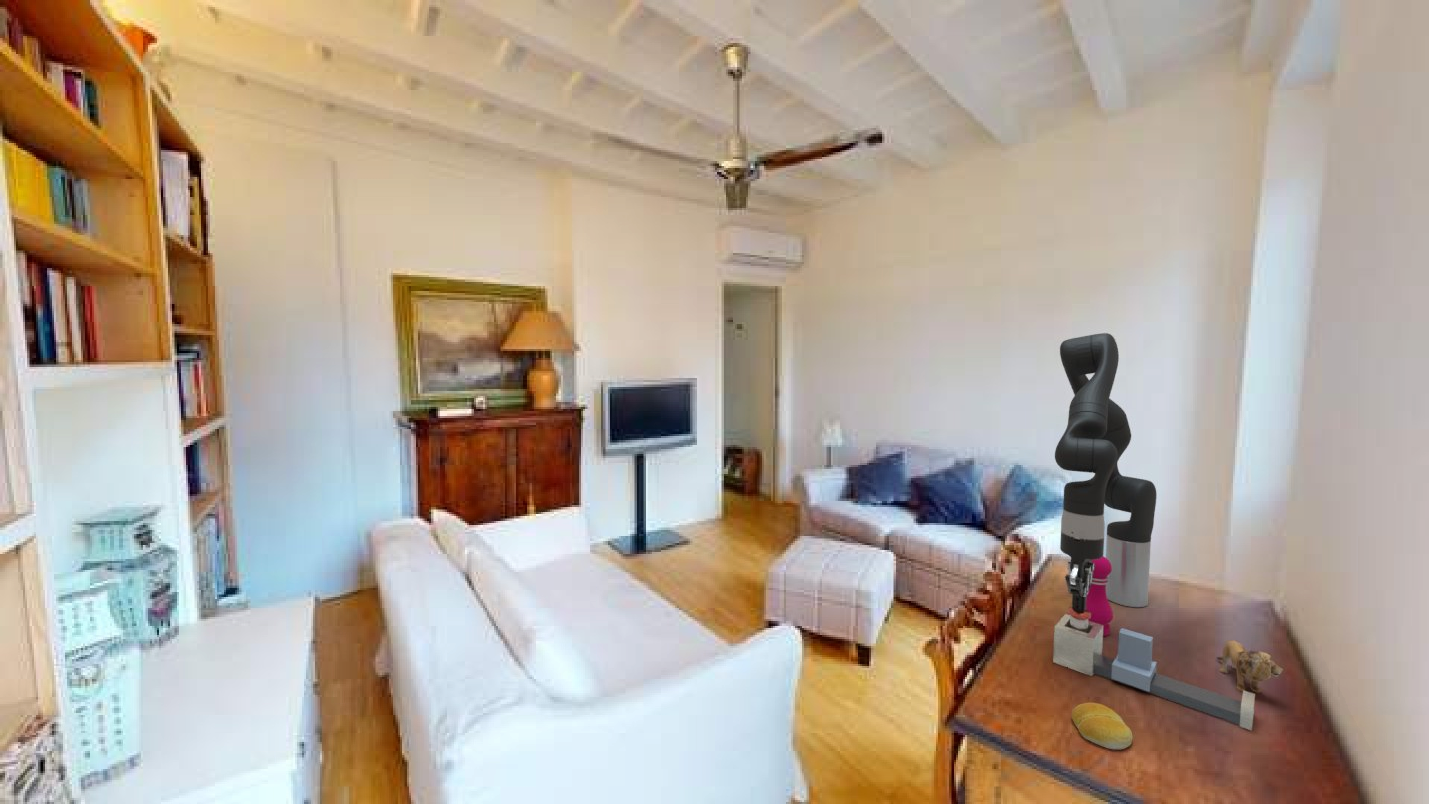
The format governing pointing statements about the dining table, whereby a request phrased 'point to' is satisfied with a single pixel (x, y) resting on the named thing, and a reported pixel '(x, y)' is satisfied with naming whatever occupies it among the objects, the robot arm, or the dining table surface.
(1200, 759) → the dining table surface
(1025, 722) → the dining table surface
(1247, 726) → the rail station
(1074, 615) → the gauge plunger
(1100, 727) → the bread roll
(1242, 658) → the lion figurine
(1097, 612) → the pepper mill
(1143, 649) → the carriage
